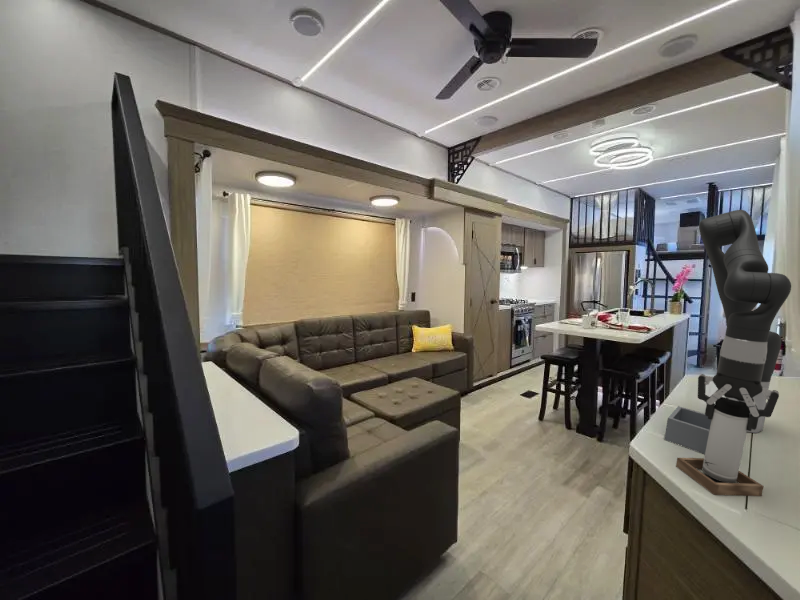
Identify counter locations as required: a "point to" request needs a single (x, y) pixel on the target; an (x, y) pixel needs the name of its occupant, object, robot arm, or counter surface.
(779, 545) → the counter surface
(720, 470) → the travel mug
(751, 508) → the counter surface
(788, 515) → the counter surface
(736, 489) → the walnut holder
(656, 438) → the counter surface
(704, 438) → the gray bin
